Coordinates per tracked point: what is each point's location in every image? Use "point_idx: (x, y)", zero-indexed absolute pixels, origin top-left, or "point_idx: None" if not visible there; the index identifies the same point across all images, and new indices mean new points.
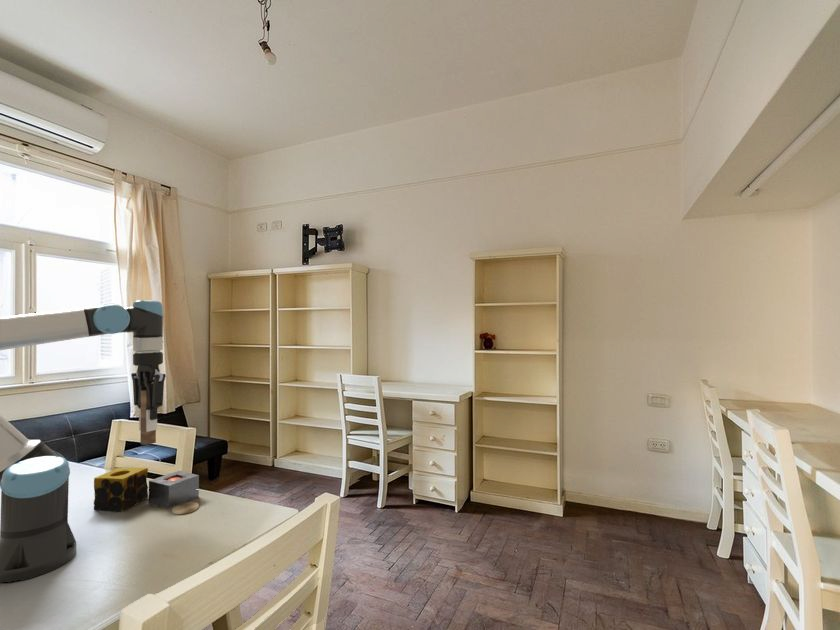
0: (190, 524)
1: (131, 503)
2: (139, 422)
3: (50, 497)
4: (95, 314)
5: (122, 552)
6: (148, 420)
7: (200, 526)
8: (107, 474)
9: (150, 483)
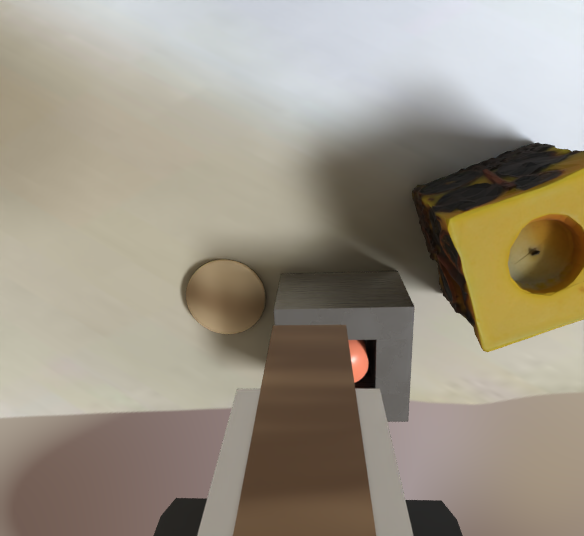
0: (102, 239)
1: (423, 227)
2: (387, 445)
3: None
4: None
5: (79, 20)
6: (214, 480)
7: (62, 245)
8: None
9: (399, 302)
